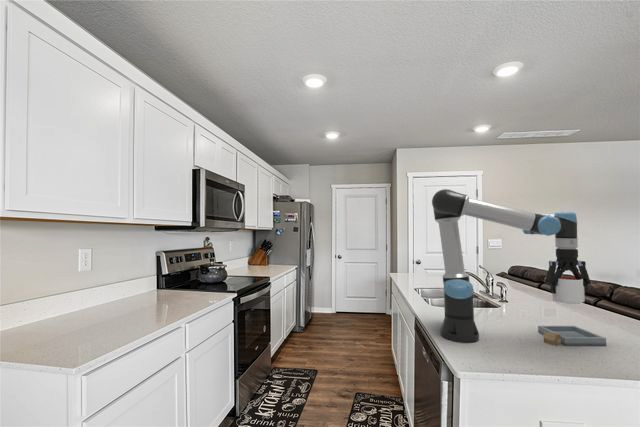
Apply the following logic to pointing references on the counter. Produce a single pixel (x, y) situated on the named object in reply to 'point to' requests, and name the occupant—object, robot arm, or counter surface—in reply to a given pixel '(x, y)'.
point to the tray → (574, 336)
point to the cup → (570, 290)
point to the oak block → (552, 338)
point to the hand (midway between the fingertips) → (568, 301)
